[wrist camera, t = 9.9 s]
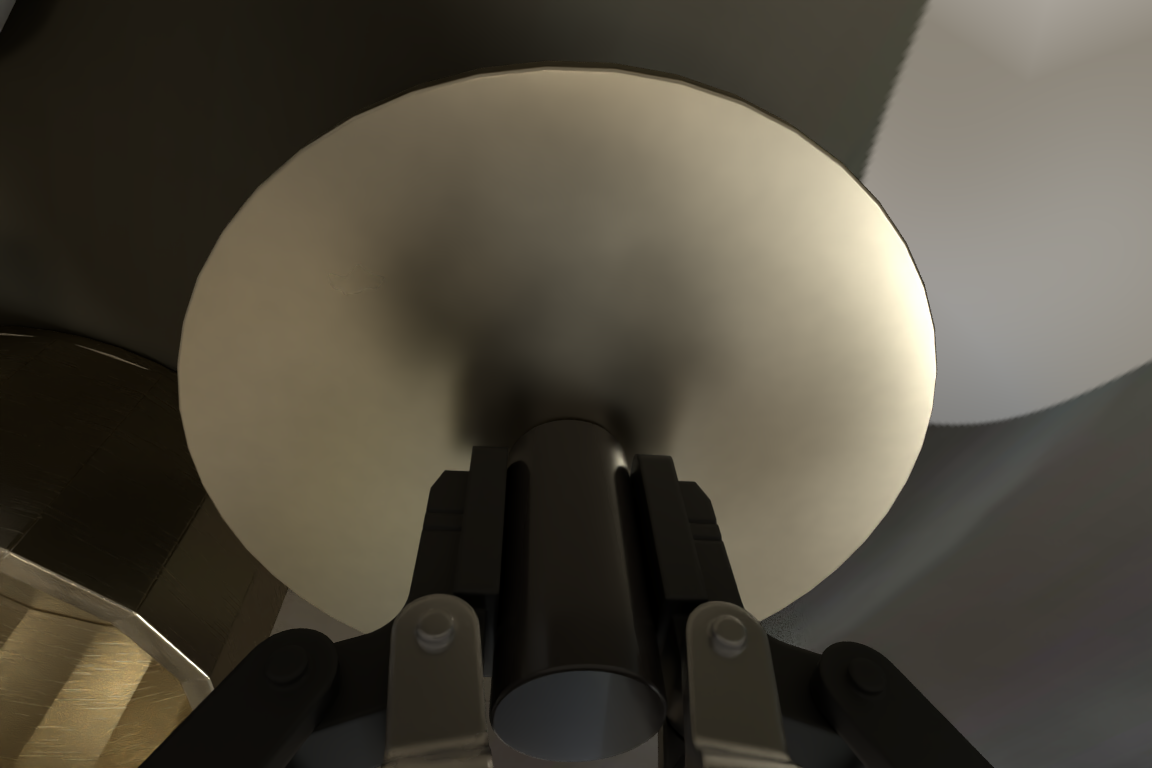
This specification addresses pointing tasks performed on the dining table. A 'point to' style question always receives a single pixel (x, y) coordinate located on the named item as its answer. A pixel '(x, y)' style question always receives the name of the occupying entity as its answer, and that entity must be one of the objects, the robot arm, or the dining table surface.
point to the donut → (5, 10)
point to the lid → (557, 363)
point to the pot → (109, 559)
